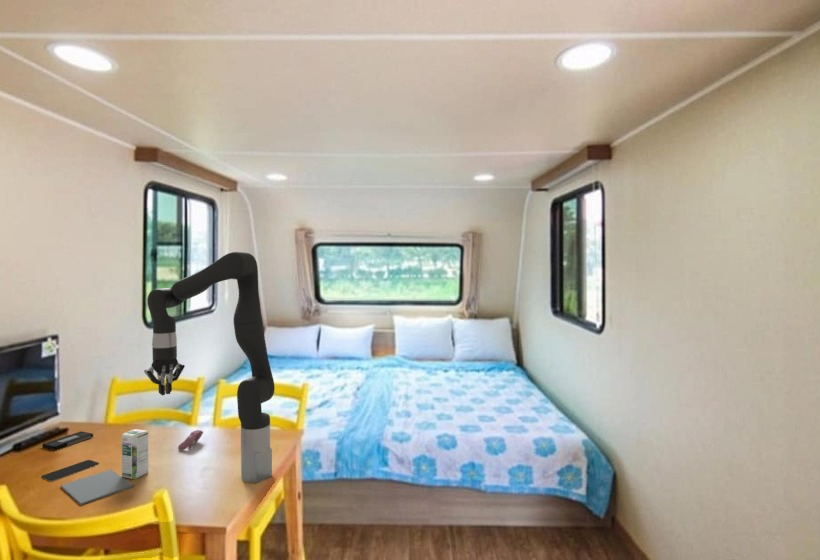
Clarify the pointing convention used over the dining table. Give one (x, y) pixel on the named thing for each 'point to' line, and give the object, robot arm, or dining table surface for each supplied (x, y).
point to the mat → (96, 486)
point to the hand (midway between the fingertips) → (165, 394)
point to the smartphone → (69, 470)
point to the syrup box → (134, 453)
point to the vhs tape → (67, 440)
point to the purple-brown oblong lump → (191, 440)
